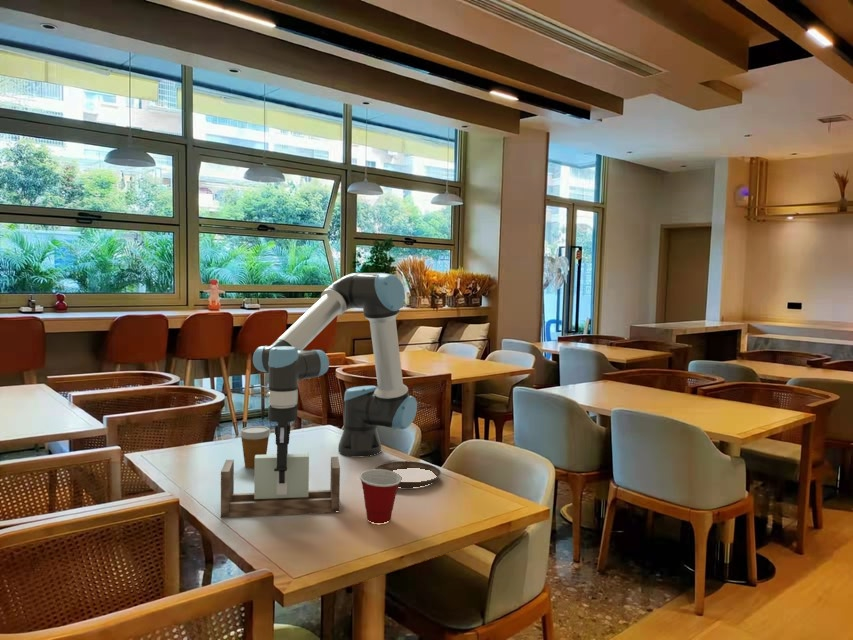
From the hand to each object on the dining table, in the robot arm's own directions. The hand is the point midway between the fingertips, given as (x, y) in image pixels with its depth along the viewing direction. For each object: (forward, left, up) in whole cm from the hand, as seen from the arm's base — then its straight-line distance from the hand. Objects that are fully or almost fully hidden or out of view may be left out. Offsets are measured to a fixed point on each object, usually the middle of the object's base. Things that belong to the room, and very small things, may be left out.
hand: (282, 491), depth 163 cm
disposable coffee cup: (+10, -37, -5) cm, 39 cm away
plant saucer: (-37, -18, -5) cm, 41 cm away
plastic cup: (-25, +12, -5) cm, 28 cm away
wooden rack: (0, 0, -4) cm, 4 cm away
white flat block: (0, 0, -1) cm, 1 cm away
